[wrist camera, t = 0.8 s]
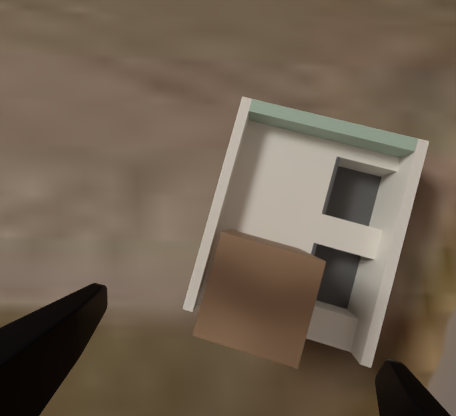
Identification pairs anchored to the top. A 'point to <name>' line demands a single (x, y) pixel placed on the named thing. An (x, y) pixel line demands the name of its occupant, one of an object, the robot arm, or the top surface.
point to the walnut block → (260, 297)
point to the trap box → (319, 210)
